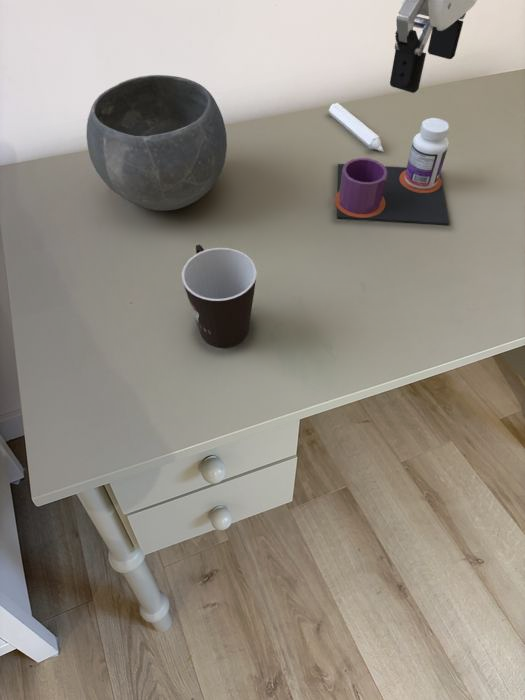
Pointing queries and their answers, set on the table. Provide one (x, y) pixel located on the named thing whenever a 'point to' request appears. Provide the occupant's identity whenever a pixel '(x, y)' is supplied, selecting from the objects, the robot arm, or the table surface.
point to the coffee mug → (220, 294)
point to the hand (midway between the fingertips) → (422, 71)
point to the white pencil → (355, 127)
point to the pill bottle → (427, 154)
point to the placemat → (402, 201)
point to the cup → (362, 185)
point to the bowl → (157, 141)
